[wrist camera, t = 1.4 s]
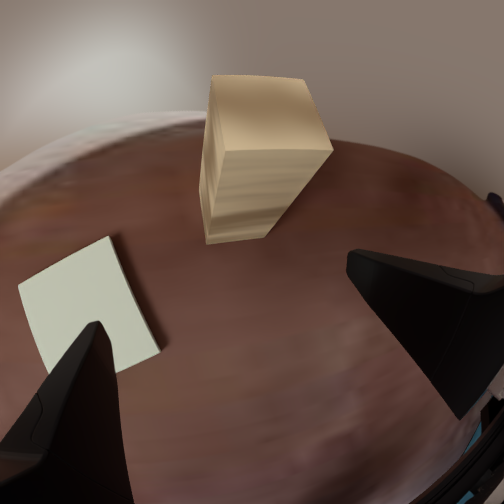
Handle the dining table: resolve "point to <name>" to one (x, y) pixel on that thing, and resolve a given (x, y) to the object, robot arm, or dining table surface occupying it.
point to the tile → (86, 306)
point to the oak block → (257, 153)
